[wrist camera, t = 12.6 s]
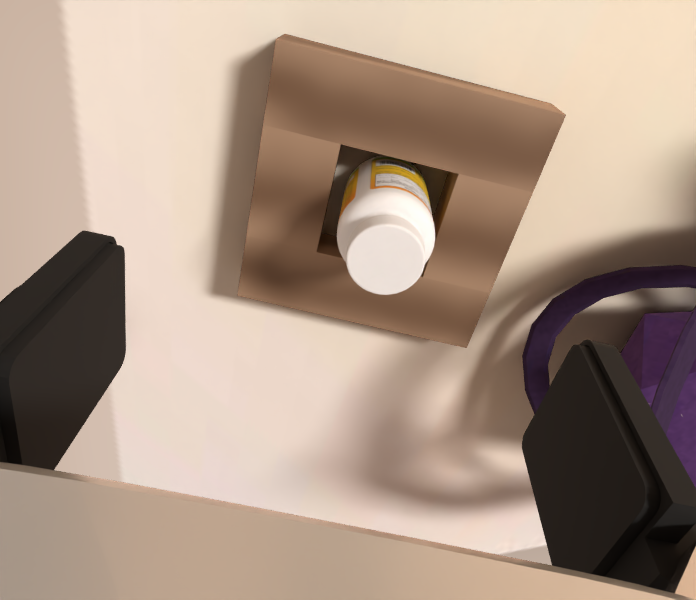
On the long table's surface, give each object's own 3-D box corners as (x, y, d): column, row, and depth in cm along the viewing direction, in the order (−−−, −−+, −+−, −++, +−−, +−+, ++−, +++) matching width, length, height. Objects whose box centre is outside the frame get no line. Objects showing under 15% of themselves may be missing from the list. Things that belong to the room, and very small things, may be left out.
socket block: (284, 33, 31) (275, 39, 29) (551, 103, 32) (565, 115, 30) (247, 274, 40) (237, 295, 37) (461, 324, 41) (466, 347, 38)
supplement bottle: (368, 245, 38) (363, 322, 29) (329, 178, 36) (311, 240, 27) (441, 211, 36) (457, 282, 28) (405, 138, 34) (410, 191, 26)
